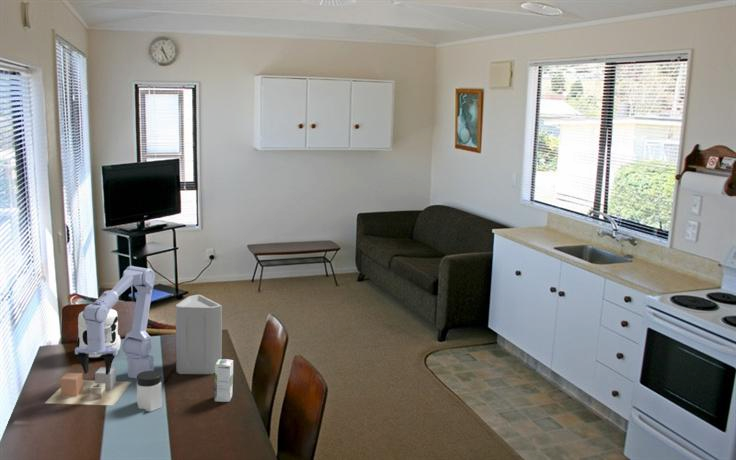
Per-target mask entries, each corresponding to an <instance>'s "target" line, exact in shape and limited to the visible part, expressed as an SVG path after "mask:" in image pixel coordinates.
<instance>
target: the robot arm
mask: <svg viewBox="0 0 736 460" xmlns="http://www.w3.org/2000/svg"><path fill="white" fill-rule="evenodd" d="M155 278H156V274H155V272H154V271H153V269H152V268H149V267H148V268H145V267H140V266H134V265H129V266H127V267H126V268H125V270H124V271H123V273H122V277H121V278H120V279H119V280H118V282H117V283H116V284H115V285H114V286H113V288H112V289H111V290H109V289H108V290H105V291H104V292H103V293H102V294H101V295H100V296H99V297H98V298H97V299H96V300H95V301H94V302H92V303H90V304H88V305H86V306H85V307H84V309H83V310H82V312H83V314H82V315H83V318H84V319H85V324H86V325H87V342H88V347H77V346H76V347H75V348H74V354H75V355H77V356H76V359H77V360H78V362H79V363H80V365H81V367H82V369H83V373H84V374H83V375H86V374H88V373H89V367H90V366H89V359H90V358H89V354H90V355H95V354H105V355H107V356H105V357H104V358H103V359H104V364H105V367H106V374H109V373H110V368H112V363H113V361H114V359H115V358H116V356H117V355H118V354H119V351H118V349H115V348H109V347H105V335H104V320H106V318H107V315H108V313H109V310H110V309H113V307H114V306H115V305H116V304H117V303H118V302H119V297H120V296H121V295H122V294H124V292H126V290H128V289H129V288H130V287H132V286H133V287H135V289H136V290H137V295H136V300H135V306H134V312H133V319H132V326H131V330H130V331H129V332H127V333H126V334H125V337H124V340H123V342H122V345H121V349H122V352H124V353H125V356H126V357H127V358H126V359H127V377H128V378H131V379H137V375H138V374H139V373H141V372H144V371H155V370H154V369H155V368H154V356H153V355H150V352H151V350H152V336H151V335H149V333H148V332H147V327H148V321H149V313H150V306H151V301H152V294H153V289H154V285H155V280H156V279H155Z"/></svg>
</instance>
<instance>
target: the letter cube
mask: <svg viewBox="0 0 736 460" xmlns="http://www.w3.org/2000/svg"><path fill="white" fill-rule="evenodd" d="M105 394H106V393H105V383H94V384H93V385H92V386H91V387H90V398H101V399H102V397H103V396H104V395H105Z"/></svg>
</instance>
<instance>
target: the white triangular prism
mask: <svg viewBox="0 0 736 460" xmlns="http://www.w3.org/2000/svg"><path fill="white" fill-rule="evenodd" d="M222 310H223V307H222V304H219V302H215V301H213V300H212V299H210V298H207V297H205V296H204V295H202V294H194V295H189V296H187V297H186V298H184V299H182V300H181V301H179V302H178V303H177V304H176V305H175V350H176V351H175V355H176V356H175V357H176V358H175V359H176V360H175V361H176V362H175V364H176V365H175V366H176V369H175V370H176V373H178V374H180V375H215V374H214V373H215V365H216V363H217V361H218V360H219V359H223V358H222V355H223V354H222V350H223V349H222V346H223V345H222V344H223V343H222V341H223V340H222V336H223V335H222V333H223V332H222V331H223V327H222V326H223V325H222V324H223V322H222V320H223V319H222V318H223V317H222V316H223V311H222Z"/></svg>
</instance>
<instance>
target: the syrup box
mask: <svg viewBox="0 0 736 460" xmlns="http://www.w3.org/2000/svg"><path fill="white" fill-rule="evenodd" d="M233 382H234V360H233V359H227V358H224V359H223V358H222V359H219V360H218V361H217V363H216V365H215V374H214V394H213V395H214V397H213V399H214V402H216V403H217V402H220V403H229V402H230V401H231V399H232V398H233V393H234V391H233V386H234V383H233Z"/></svg>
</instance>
